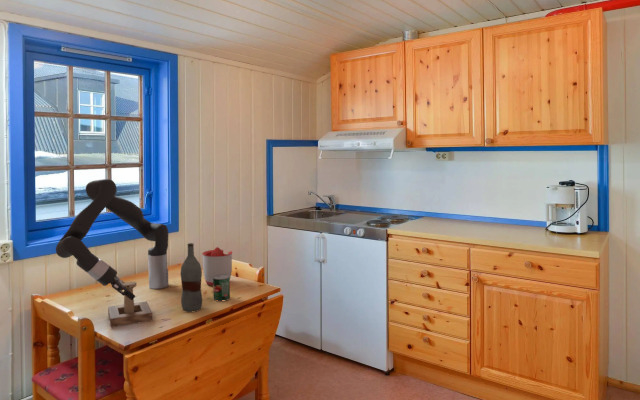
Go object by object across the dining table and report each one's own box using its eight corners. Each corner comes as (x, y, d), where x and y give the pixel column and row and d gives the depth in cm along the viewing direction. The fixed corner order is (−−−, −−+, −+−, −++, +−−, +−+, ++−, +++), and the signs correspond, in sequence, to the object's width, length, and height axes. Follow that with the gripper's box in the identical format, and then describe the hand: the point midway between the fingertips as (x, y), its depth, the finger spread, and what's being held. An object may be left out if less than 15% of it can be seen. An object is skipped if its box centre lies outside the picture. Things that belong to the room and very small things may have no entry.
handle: (121, 316, 199) (120, 282, 198) (137, 314, 201) (136, 281, 200) (121, 320, 195) (119, 285, 193) (137, 318, 197) (136, 284, 195)
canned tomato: (233, 297, 226) (232, 275, 225) (224, 302, 219) (224, 279, 218) (218, 295, 229) (218, 273, 228) (210, 300, 221) (209, 277, 220)
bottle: (188, 314, 203) (187, 246, 199) (177, 309, 209) (175, 243, 206) (206, 308, 210) (205, 243, 206) (195, 304, 216) (193, 240, 212)
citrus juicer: (240, 281, 253) (240, 245, 250) (217, 289, 238) (217, 251, 236) (220, 277, 261) (219, 242, 259) (196, 284, 246) (195, 247, 244)
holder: (147, 308, 209) (146, 301, 208) (152, 320, 195) (152, 312, 194) (108, 314, 201) (108, 306, 201) (110, 327, 187) (110, 318, 187)
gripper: (109, 269, 186) (141, 293, 192) (107, 261, 198) (137, 284, 205) (95, 283, 184) (128, 307, 190) (94, 274, 196) (124, 297, 203)
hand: (132, 295), depth 198 cm, fingers open, 8 cm apart
